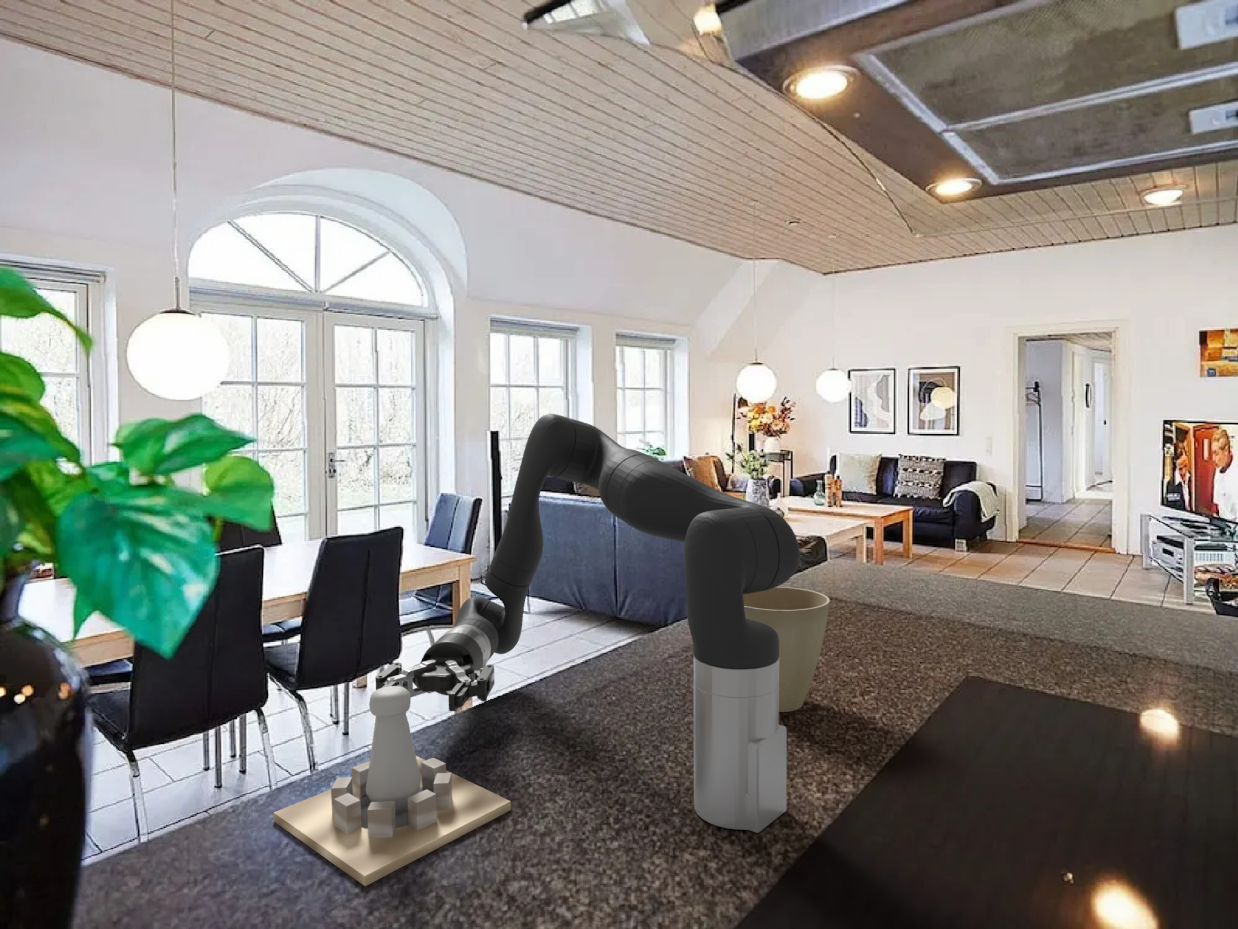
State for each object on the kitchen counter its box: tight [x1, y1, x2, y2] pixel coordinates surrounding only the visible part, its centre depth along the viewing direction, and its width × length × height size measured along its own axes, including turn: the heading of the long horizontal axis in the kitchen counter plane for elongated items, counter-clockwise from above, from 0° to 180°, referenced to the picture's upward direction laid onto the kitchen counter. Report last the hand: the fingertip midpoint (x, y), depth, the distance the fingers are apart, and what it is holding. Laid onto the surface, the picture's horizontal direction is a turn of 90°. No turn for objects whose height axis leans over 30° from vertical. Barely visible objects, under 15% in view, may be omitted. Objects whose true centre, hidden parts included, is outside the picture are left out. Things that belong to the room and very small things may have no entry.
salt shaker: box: [366, 685, 421, 814], centre depth 86 cm, size 6×6×13 cm
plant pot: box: [743, 586, 831, 713], centre depth 117 cm, size 15×15×16 cm
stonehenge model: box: [273, 755, 512, 887], centre depth 87 cm, size 18×18×4 cm
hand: (416, 702), depth 94 cm, fingers open, 8 cm apart
